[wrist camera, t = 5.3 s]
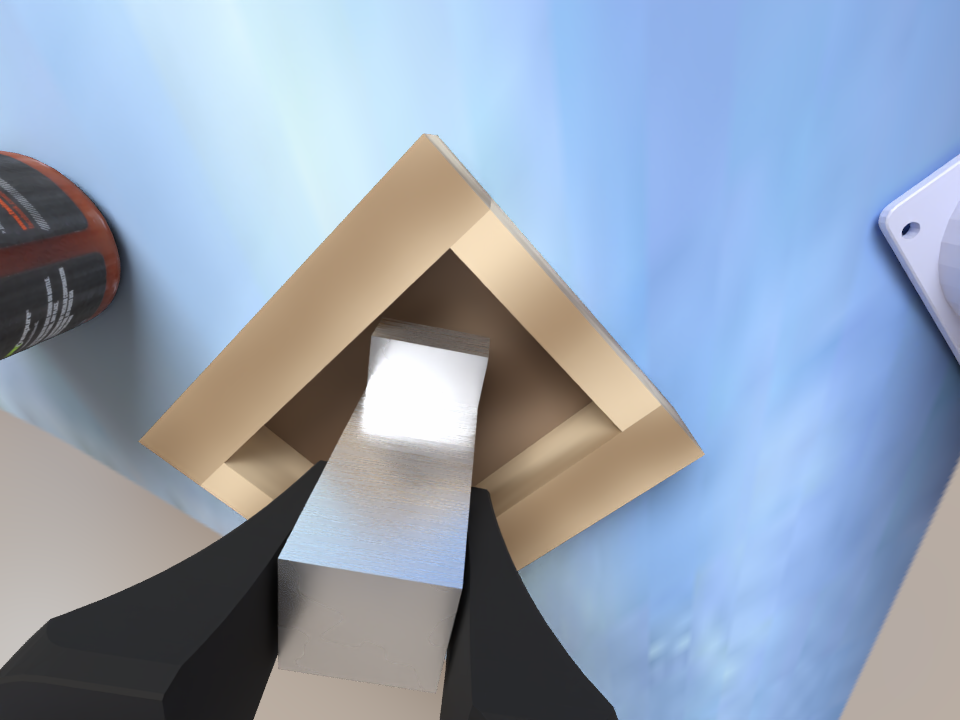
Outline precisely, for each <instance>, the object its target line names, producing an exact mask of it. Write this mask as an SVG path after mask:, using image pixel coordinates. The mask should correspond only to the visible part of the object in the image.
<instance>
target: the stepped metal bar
mask: <svg viewBox="0 0 960 720" xmlns="http://www.w3.org/2000/svg"><path fill="white" fill-rule="evenodd" d="M489 344H490V337H485V336H480V335H475V334H469V333H464V332H459V331H454V330H448V329H443V328H438V327H433V326H427V325H422V324H417V323H412V322H406V321H401V320H396V319H391V318H385V317H383V318H382V319H381V321H380V323H379V324H378V326H377V327H376V329H375V331H374V332H373V334H372V336H371V346H370V356H369V367H368V378H367V387H366V389H365V391H364V393H363V395H362V397H361V399H360V400H359V402H358V404H357V406H356V408H355V410H354V412H353V414H352V416H351V418H350V420H349V422H348V424H347V426H346V428H345V430H344V431H343V433H342V435H341V437H340V439H339V441H338V443H337V445H336V447H335V449H334V451H333V453H332V455H331V457H330V459H329V460H328V462H327V464H326V466H325V468H324V470H323V472H322V474H321V476H320V478H319V480H318V482H317V484H316V486H315V488H314V489H313V491H312V493H311V495H310V497H309V499H308V501H307V503H306V505H305V507H304V509H303V511H302V513H301V515H300V517H299V518H298V520H297V522H296V524H295V526H294V528H293V530H292V532H291V534H290V536H289V538H288V540H287V542H286V544H285V546H284V547H283V549H282V551H281V553H280V555H279V557H278V669H281V670H288V671H294V672H301V673H307V674H314V675H321V676H327V677H333V678H340V679H346V680H353V681H359V682H366V683H372V684H379V685H385V686H392V687H398V688H405V689H411V690H417V691H424V692H431V693H436V690H437V687H438V682H439V679H440V675H441V671H442V666H443V663H444V659H445V655H446V651H447V647H448V643H449V639H450V635H451V631H452V628H453V624H454V620H455V616H456V612H457V608H458V604H459V600H460V596H461V592H462V586H463V575H464V563H465V551H466V540H467V528H468V516H469V505H470V493H471V481H472V470H473V458H474V446H475V435H476V423H477V411H478V404H479V400H480V395H481V391H482V386H483V381H484V377H485V372H486V368H487V363H488V359H489Z"/></svg>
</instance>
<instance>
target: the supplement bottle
mask: <svg viewBox="0 0 960 720" xmlns="http://www.w3.org/2000/svg"><path fill="white" fill-rule="evenodd" d="M120 272H121V268H120V258H119V254H118V249H117V246H116V243H115V240H114V237H113V234H112V232H111V230H110V228H109V226H108V224H107V222H106V220H105V218H104V217H103V215H102V214H101V212H100V211H99V210H98V209H97V207H96V206H95V204H94V203H93V202H92V201H91V200H90V198H89V197H88V196H87V195H86V194H85V193H84V192H83V191H82V190H81V189H79V188H78V187H77V186H76V185H75V184H74V183H73V182H71V181H70V180H69V179H68V178H66V177H65V176H64V175H62V174H61V173H60V172H58V171H57V170H55V169H53V168H52V167H50V166H48V165H46V164H44V163H42V162H40V161H38V160H36V159H33V158H31V157H28V156H24V155H21V154H17V153H12V152H6V151H0V360H2V359H4V358H7V357H9V356H11V355H14V354H16V353H18V352H21V351H23V350H26V349H28V348H30V347H32V346H34V345H36V344H38V343H40V342H43V341H45V340H48V339H50V338H52V337H54V336H57V335H59V334H61V333H64V332H66V331H68V330H70V329H73V328H74V327H77V326H79V325H81V324H82V323H85V322H87V321H89V320H90V319H92V318H94V317H96V316H97V315H99V314H100V313H101V312H102V311H104V310H105V309H106V308H107V306H108V305H109V304H110V303H111V301H112V300H113V298H114V296H115V294H116V291H117V288H118V285H119V281H120Z"/></svg>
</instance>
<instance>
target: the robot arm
mask: <svg viewBox="0 0 960 720" xmlns="http://www.w3.org/2000/svg"><path fill="white" fill-rule="evenodd" d="M878 223H879V227H880V229H881V231H882V232H883V234H884V236H885V237H886V239H887V241H888V243H889V244H890V246H891V248H892V249H893V251H894V253H895V255H896V256H897V258H898V260H899V261H900V263H901V265H902V267H903V268H904V270H905V272H906V273H907V275H908V277H909V279H910V280H911V282H912V284H913V285H914V287H915V289H916V290H917V292H918V294H919V296H920V297H921V299H922V301H923V302H924V304H925V306H926V308H927V309H928V311H929V313H930V314H931V316H932V318H933V320H934V321H935V323H936V325H937V326H938V328H939V330H940V332H941V333H942V335H943V337H944V338H945V340H946V342H947V343H948V345H949V347H950V349H951V350H952V352H953V354H954V355H955V357H956V359H957V361H958V362H959V364H960V154H959V155H958V156H956V157H955V158H953V159H952V160H951V161H949V162H948V163H946V164H945V165H944V166H942V167H941V168H939V169H938V170H937V171H935V172H934V173H932V174H931V175H929V176H928V177H927V178H925V179H924V180H922V181H921V182H920V183H918V184H917V185H915V186H914V187H913V188H911V189H910V190H908V191H907V192H906V193H904V194H903V195H901V196H900V197H898V198H897V199H896V200H894V201H893V202H891V203H890V204H889V205H888V206H887V207H885V208H884V209H883V211H882V212H881V214H880V216H879V221H878ZM908 223H910V229H909V231H908V232H907V233H906V234H905V235H903V236H902V230H903V228H904V227H905V226H906V225H907V224H908ZM327 462H328V461H323V460H320V461H319V462H317V463H316V464H315V465H313V466H312V467H311V468H310V469H309V470H308V471H307V472H306V473H305V474H304V475H303V476H301V477H300V478H299V479H298V480H297V481H296V482H295V483H293V484H292V485H291V486H290V487H289V488H288V489H286V490H285V491H284V492H283V493H282V494H280V495H279V496H278V497H277V498H275V499H274V500H273V501H272V502H271V503H269V504H268V505H267V506H266V507H264V508H263V509H262V510H260V511H259V512H258V513H256V514H255V515H254V516H252V517H251V518H249V519H248V520H247V521H245V522H244V523H243V524H241V525H240V526H239V527H237V528H236V529H234V530H233V531H231V532H230V533H228V534H227V535H225V536H224V537H222V538H221V539H220V540H218V541H216V542H214V543H213V544H211V545H210V546H208V547H206V548H205V549H203V550H201V551H200V552H198V553H196V554H195V555H193V556H191V557H189V558H187V559H186V560H184V561H182V562H180V563H178V564H176V565H175V566H173V567H171V568H169V569H167V570H165V571H163V572H161V573H159V574H157V575H155V576H153V577H151V578H149V579H147V580H145V581H143V582H141V583H138V584H136V585H134V586H132V587H130V588H127V589H125V590H123V591H121V592H118V593H116V594H114V595H111V596H109V597H107V598H104V599H102V600H99V601H97V602H94V603H91V604H89V605H86V606H84V607H81V608H79V609H76V610H73V611H71V612H68V613H66V614H63V615H60V616H58V617H55V618H52V619H50V620H49V621H48V622H47V623H46V624H45V625H44V626H43V627H42V628H40V630H38V631H37V632H36V633H35V634H34V635H33V636H32V637H31V638H30V639H29V640H28V641H27V642H26V643H25V644H24V645H23V646H22V647H21V648H20V649H19V650H18V651H17V652H16V653H15V654H14V655H13V657H11V659H10V660H9V661H8V662H7V663H6V664H5V665H4V666H3V667H2V668H1V669H0V720H253V719H254V716H255V714H256V711H257V708H258V706H259V703H260V700H261V698H262V695H263V692H264V689H265V687H266V684H267V681H268V679H269V676H270V673H271V671H272V668H273V666H274V663H275V660H276V658H277V655H278V557H279V555H280V553H281V551H282V549H283V547H284V546H285V544H286V542H287V540H288V538H289V536H290V534H291V532H292V530H293V528H294V526H295V524H296V522H297V520H298V518H299V517H300V515H301V513H302V511H303V509H304V507H305V505H306V503H307V501H308V499H309V497H310V495H311V493H312V491H313V489H314V488H315V486H316V484H317V482H318V480H319V478H320V476H321V474H322V472H323V470H324V468H325V466H326V464H327ZM440 720H618V718H617V715H616V712H615V710H614V707H613V706H612V705H611V704H610V703H609V702H608V700H607V699H606V698H605V697H604V696H603V695H602V694H601V693H600V692H599V690H598V689H597V688H596V687H595V686H594V685H593V684H592V683H591V682H590V680H589V679H588V678H587V677H586V676H585V675H584V674H583V672H582V671H581V670H580V669H579V667H578V666H577V665H576V664H575V662H574V661H573V660H572V658H571V657H570V656H569V655H568V653H567V652H566V650H565V649H564V647H563V646H562V645H561V643H560V642H559V640H558V639H557V638H556V636H555V635H554V633H553V632H552V630H551V629H550V628H549V626H548V625H547V623H546V622H545V620H544V618H543V617H542V615H541V614H540V612H539V610H538V609H537V607H536V605H535V604H534V602H533V600H532V598H531V597H530V595H529V593H528V591H527V589H526V587H525V586H524V584H523V582H522V580H521V578H520V576H519V574H518V571H517V569H516V567H515V565H514V563H513V561H512V558H511V556H510V554H509V551H508V549H507V546H506V544H505V541H504V539H503V536H502V534H501V531H500V528H499V525H498V522H497V519H496V516H495V513H494V509H493V505H492V501H491V497H490V493H489V491H488V490H487V489H482V488H477V487H471V493H470V505H469V516H468V528H467V540H466V551H465V563H464V575H463V586H462V592H461V596H460V600H459V604H458V608H457V612H456V616H455V620H454V624H453V628H452V631H451V635H450V639H449V643H448V647H447V657H446V671H445V680H444V688H443V697H442V705H441V713H440Z"/></svg>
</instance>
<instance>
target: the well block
mask: <svg viewBox="0 0 960 720" xmlns="http://www.w3.org/2000/svg"><path fill="white" fill-rule="evenodd" d="M383 317H385V318H391V319H396V320H401V321H406V322H412V323H417V324H422V325H427V326H433V327H438V328H443V329H448V330H454V331H459V332H464V333H469V334H475V335H480V336H485V337H490V344H489V359H488V363H487V368H486V372H485V377H484V381H483V386H482V391H481V395H480V400H479V404H478V411H477V423H476V435H475V446H474V458H473V470H472V481H471V487H477V488H482V489H487V490H488V491H489V493H490V497H491V501H492V505H493V509H494V513H495V516H496V519H497V522H498V525H499V528H500V531H501V534H502V536H503V539H504V541H505V544H506V546H507V549H508V551H509V554H510V556H511V558H512V561H513V563H514V565H515V567H516V569H517V571H519V570H520V569H522V568H523V567H525V566H527V565H528V564H530V563H531V562H533V561H535V560H536V559H538V558H540V557H541V556H543V555H544V554H546V553H548V552H549V551H551V550H552V549H554V548H556V547H557V546H559V545H560V544H562V543H564V542H565V541H567V540H568V539H570V538H572V537H573V536H575V535H576V534H578V533H580V532H581V531H583V530H584V529H586V528H588V527H589V526H591V525H593V524H594V523H596V522H597V521H599V520H601V519H602V518H604V517H605V516H607V515H609V514H610V513H612V512H613V511H615V510H617V509H618V508H620V507H621V506H623V505H625V504H626V503H628V502H629V501H631V500H633V499H634V498H636V497H638V496H639V495H641V494H642V493H644V492H646V491H647V490H649V489H650V488H652V487H654V486H655V485H657V484H658V483H660V482H662V481H663V480H665V479H666V478H668V477H670V476H671V475H673V474H674V473H676V472H678V471H679V470H681V469H683V468H684V467H686V466H687V465H689V464H691V463H692V462H694V461H695V460H697V459H699V458H700V457H702V456H703V455H705V454H704V452H703V451H702V449H701V448H700V446H699V445H698V443H697V442H696V440H695V439H694V437H693V436H692V434H691V433H690V431H689V430H688V428H687V427H686V425H685V424H684V422H683V421H682V419H681V418H680V416H679V415H678V413H677V412H676V410H675V409H674V407H673V406H672V405H671V404H670V403H669V402H668V401H667V399H666V398H665V397H664V396H663V395H662V394H661V392H660V391H659V390H658V389H657V388H656V387H655V386H654V384H653V383H652V382H651V381H650V380H649V379H648V377H647V376H646V375H645V374H644V373H643V372H642V371H641V369H640V368H639V367H638V366H637V365H636V364H635V362H634V361H633V360H632V359H631V358H630V357H629V356H628V354H627V353H626V352H625V351H624V350H623V349H622V348H621V346H620V345H619V344H618V343H617V342H616V341H615V339H614V338H613V337H612V336H611V335H610V334H609V333H608V331H607V330H606V329H605V328H604V327H603V326H602V324H601V323H600V322H599V321H598V320H597V319H596V318H595V316H594V315H593V314H592V313H591V312H590V311H589V309H588V308H587V307H586V306H585V305H584V304H583V303H582V301H581V300H580V299H579V298H578V297H577V296H576V295H575V293H574V292H573V291H572V290H571V289H570V288H569V286H568V285H567V284H566V283H565V282H564V281H563V280H562V278H561V277H560V276H559V275H558V274H557V273H556V271H555V270H554V269H553V268H552V267H551V266H550V265H549V263H548V262H547V261H546V260H545V259H544V258H543V256H542V255H541V254H540V253H539V252H538V251H537V250H536V248H535V247H534V246H533V245H532V244H531V243H530V241H529V240H528V239H527V238H526V237H525V236H524V235H523V233H522V232H521V231H520V230H519V229H518V228H517V227H516V225H515V224H514V223H513V222H512V221H511V220H510V218H509V217H508V216H507V215H506V214H505V213H504V212H503V210H502V209H501V208H500V207H499V206H498V205H497V203H496V202H495V201H494V200H493V199H492V198H491V197H490V195H489V194H488V193H487V192H486V191H485V190H484V188H483V187H482V186H481V185H480V184H479V183H478V182H477V180H476V179H475V178H474V177H473V176H472V175H471V174H470V172H469V171H468V170H467V169H466V168H465V167H464V165H463V164H462V163H461V162H460V161H459V160H458V159H457V157H456V156H455V155H454V154H453V153H452V152H451V150H450V149H449V148H448V147H447V146H446V145H445V144H444V142H443V141H442V140H441V139H440V138H439V137H438V135H431V134H422V136H421V137H420V138H419V139H418V140H417V141H416V142H415V143H414V144H413V145H412V146H411V147H410V149H409V150H408V151H407V152H406V153H405V154H404V155H403V156H402V157H401V158H400V159H399V160H398V162H397V163H396V164H395V165H394V166H393V167H392V168H391V169H390V170H389V171H388V172H387V173H386V174H385V176H384V177H383V178H382V179H381V180H380V181H379V182H378V183H377V184H376V185H375V186H374V187H373V189H372V190H371V191H370V192H369V193H368V194H367V195H366V196H365V197H364V198H363V199H362V200H361V201H360V203H359V204H358V205H357V206H356V207H355V208H354V209H353V210H352V211H351V212H350V213H349V214H348V216H347V217H346V218H345V219H344V220H343V221H342V222H341V223H340V224H339V225H338V226H337V227H336V228H335V230H334V231H333V232H332V233H331V234H330V235H329V236H328V237H327V238H326V239H325V240H324V241H323V243H322V244H321V245H320V246H319V247H318V248H317V249H316V250H315V251H314V252H313V253H312V254H311V256H310V257H309V258H308V259H307V260H306V261H305V262H304V263H303V264H302V265H301V266H300V267H299V268H298V270H297V271H296V272H295V273H294V274H293V275H292V276H291V277H290V278H289V279H288V280H287V281H286V283H285V284H284V285H283V286H282V287H281V288H280V289H279V290H278V291H277V292H276V293H275V294H274V295H273V297H272V298H271V299H270V300H269V301H268V302H267V303H266V304H265V305H264V306H263V307H262V308H261V310H260V311H259V312H258V313H257V314H256V315H255V316H254V317H253V318H252V319H251V320H250V321H249V323H248V324H247V325H246V326H245V327H244V328H243V329H242V330H241V331H240V332H239V333H238V334H237V335H236V337H235V338H234V339H233V340H232V341H231V342H230V343H229V344H228V345H227V346H226V347H225V348H224V350H223V351H222V352H221V353H220V354H219V355H218V356H217V357H216V358H215V359H214V360H213V361H212V362H211V364H210V365H209V366H208V367H207V368H206V369H205V370H204V371H203V372H202V373H201V374H200V375H199V377H198V378H197V379H196V380H195V381H194V382H193V383H192V384H191V385H190V386H189V387H188V388H187V390H186V391H185V392H184V393H183V394H182V395H181V396H180V397H179V398H178V399H177V400H176V401H175V402H174V404H173V405H172V406H171V407H170V408H169V409H168V410H167V411H166V412H165V413H164V414H163V415H162V417H161V418H160V419H159V420H158V421H157V422H156V423H155V424H154V425H153V426H152V427H151V428H150V429H149V431H148V432H147V433H146V434H145V435H144V436H143V437H142V438H141V439H140V440H139V441H138V442H140V443H141V444H142V445H144V446H145V447H147V448H148V449H149V450H151V451H152V452H154V453H155V454H156V455H158V456H159V457H161V458H162V459H163V460H165V461H166V462H168V463H169V464H170V465H172V466H173V467H175V468H176V469H177V470H179V471H180V472H182V473H183V474H184V475H186V476H187V477H188V478H190V479H191V480H193V481H194V482H195V483H197V484H198V485H200V486H201V487H202V488H204V489H205V490H207V491H208V492H209V493H211V494H212V495H214V496H215V497H216V498H218V499H219V500H221V501H222V502H223V503H225V504H226V505H228V506H229V507H230V508H232V509H233V510H235V511H236V512H237V513H239V514H240V515H242V516H243V517H244V518H246V519H247V520H248V519H249V518H251V517H252V516H254V515H255V514H256V513H258V512H259V511H260V510H262V509H263V508H264V507H266V506H267V505H268V504H269V503H271V502H272V501H273V500H274V499H275V498H277V497H278V496H279V495H280V494H282V493H283V492H284V491H285V490H286V489H288V488H289V487H290V486H291V485H292V484H293V483H295V482H296V481H297V480H298V479H299V478H300V477H301V476H303V475H304V474H305V473H306V472H307V471H308V470H309V469H310V468H311V467H312V466H313V465H315V464H316V463H317V462H319V461H320V460H323V461H328V460H329V459H330V457H331V455H332V453H333V451H334V449H335V447H336V445H337V443H338V441H339V439H340V437H341V435H342V433H343V431H344V430H345V428H346V426H347V424H348V422H349V420H350V418H351V416H352V414H353V412H354V410H355V408H356V406H357V404H358V402H359V400H360V399H361V397H362V395H363V393H364V391H365V389H366V387H367V378H368V367H369V356H370V346H371V336H372V334H373V332H374V331H375V329H376V327H377V326H378V324H379V323H380V321H381V319H382V318H383Z"/></svg>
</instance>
